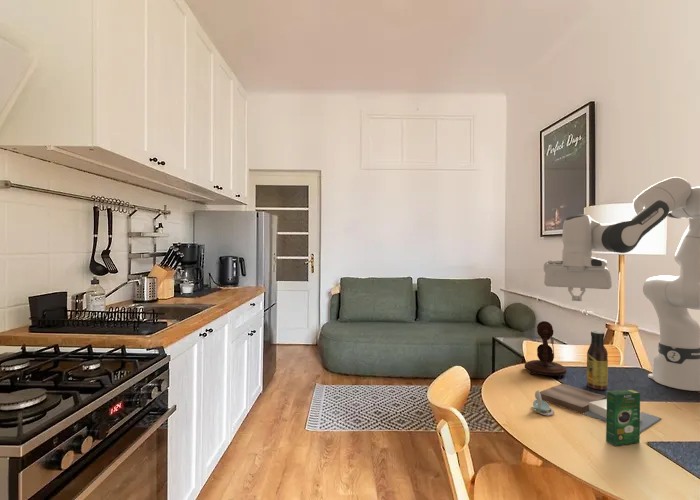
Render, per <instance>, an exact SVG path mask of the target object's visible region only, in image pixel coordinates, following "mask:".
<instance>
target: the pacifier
mask: <svg viewBox="0 0 700 500" xmlns="http://www.w3.org/2000/svg"><path fill="white" fill-rule="evenodd" d="M540 392H541V391H540V390H536V391H535V393H534V396H535V400H534V401H533V402H532V407H530V408H531V409H532V410H535V411H536V413H538V414H541V415H542V416H547V417H548V416H553V415H554V414H555V410H554V409H553V408H551V407H550V403H549V402H546V401H543V400H542V399H541V394H540Z"/></svg>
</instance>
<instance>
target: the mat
mask: <svg viewBox="0 0 700 500" xmlns="http://www.w3.org/2000/svg"><path fill="white" fill-rule="evenodd" d="M641 412H642V421H640V433H642V432H644V431H645V430H647V429H649V428H650V427H651V426H653V425H654V424H657V423H658V422H659V421H661V420H662V417H659V416H656V415H654V414H649V413H646V412H643V411H641ZM583 415H585V416H588V417H591V418H594V419H596V420H599V421H601V422H605V423H606V418H605V417H603V416H600V415H598V414H596V413H594V412H591V411H587V412H585V413H584V414H583Z"/></svg>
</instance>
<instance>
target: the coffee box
mask: <svg viewBox="0 0 700 500" xmlns="http://www.w3.org/2000/svg"><path fill="white" fill-rule="evenodd" d="M606 399H607V418H606V422H605V423H606V424H605V427H606V428H605V431H606V432H605V442H606V443H608V444H610V445H611V446H614V447H616V446H623V445H624V446H625V445H633V444H638V443H640V439H641V436H640V435H641V434H640V411H641V392H639V391H637V390H634V389H631V388H630V389H629V388H628V389H619V390H607V391H606Z"/></svg>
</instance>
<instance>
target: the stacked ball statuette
mask: <svg viewBox="0 0 700 500" xmlns="http://www.w3.org/2000/svg"><path fill="white" fill-rule="evenodd" d="M536 333H537V335H538V336H539V337H540V339H541V341H542V343H541V344H539V345H538V346H537V348H536V353H537V354H536V356H537V358H538V359H536V360H535V359H533V360H529V361H527V362H525V363H524V369H525V370H527V371H529V373H530V375H532V376H533V375H534V374H538V375H545V376H557V379H561V377H562V376H564V375H565V374H567V368H566V367H565V366H563V365H562V364H560V363H558V362H555V361H554V359H555V348H554V340H553V335H554V329H553V325H552V324H551V322H548V321H546V320H545V321H544V320H543V321H540V322H539V323H538V324H537V325H536ZM550 339H551V345H552V346H550V345H549V343H548V341H549V340H550Z"/></svg>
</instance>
